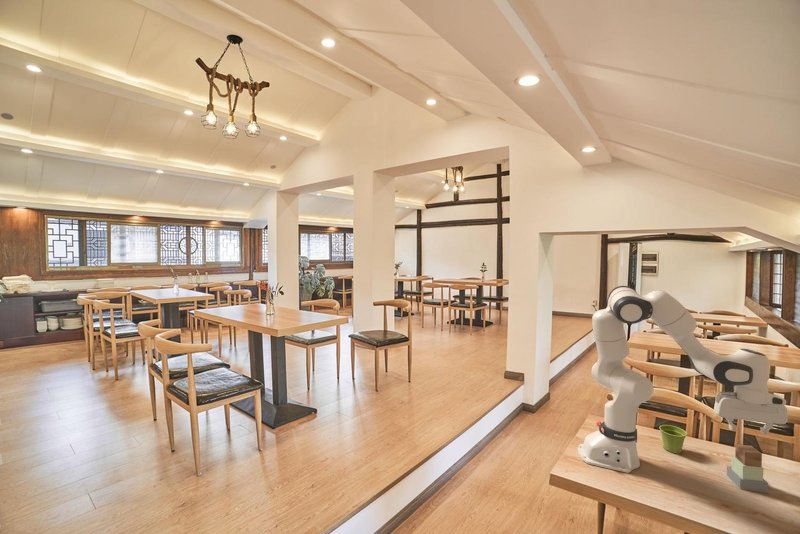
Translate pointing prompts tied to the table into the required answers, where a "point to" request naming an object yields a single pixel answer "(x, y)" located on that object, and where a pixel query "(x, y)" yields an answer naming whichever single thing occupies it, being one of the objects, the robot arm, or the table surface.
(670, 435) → the plant pot
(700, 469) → the table surface
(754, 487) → the base slab
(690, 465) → the table surface
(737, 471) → the tower cube
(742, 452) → the walnut cube
